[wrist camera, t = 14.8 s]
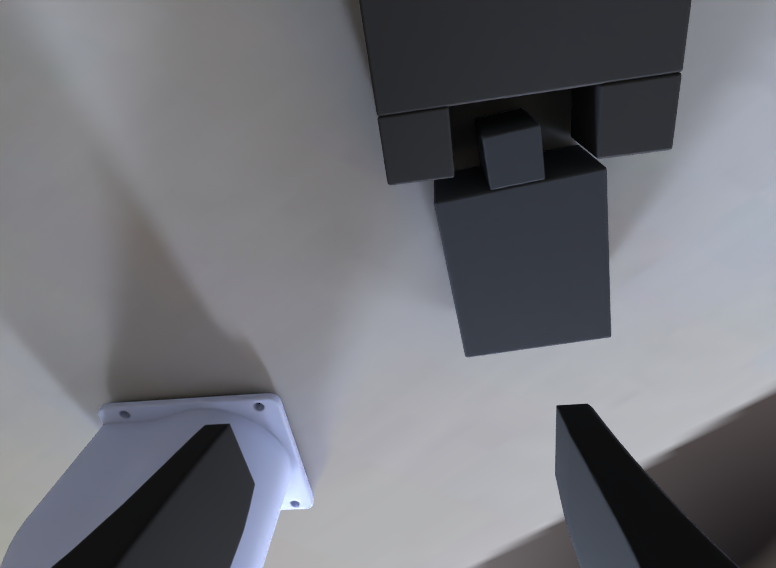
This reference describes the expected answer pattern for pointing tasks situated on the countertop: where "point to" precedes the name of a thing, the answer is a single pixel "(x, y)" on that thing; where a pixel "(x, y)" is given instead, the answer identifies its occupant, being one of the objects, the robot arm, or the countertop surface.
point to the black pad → (523, 70)
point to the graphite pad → (526, 240)
